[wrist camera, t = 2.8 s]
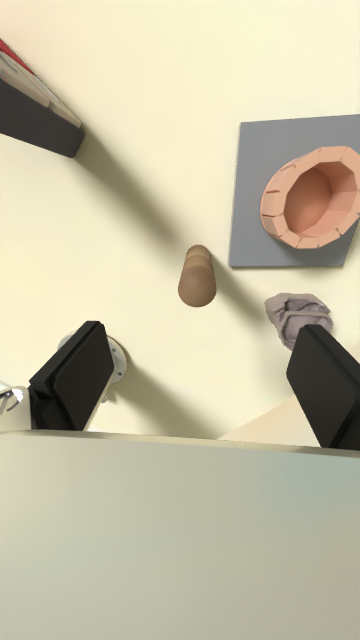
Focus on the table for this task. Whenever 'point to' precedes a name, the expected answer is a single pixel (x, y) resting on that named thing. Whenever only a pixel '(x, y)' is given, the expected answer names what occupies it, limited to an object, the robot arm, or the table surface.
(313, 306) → the dental mold
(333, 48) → the table surface
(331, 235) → the board
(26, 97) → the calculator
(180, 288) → the wooden capsule dowel
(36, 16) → the table surface
